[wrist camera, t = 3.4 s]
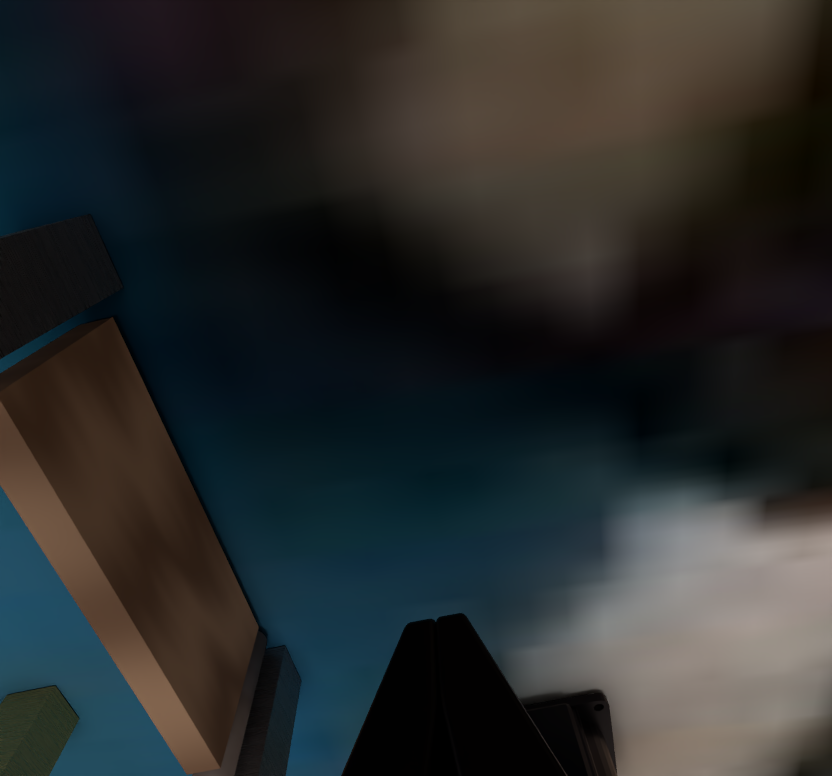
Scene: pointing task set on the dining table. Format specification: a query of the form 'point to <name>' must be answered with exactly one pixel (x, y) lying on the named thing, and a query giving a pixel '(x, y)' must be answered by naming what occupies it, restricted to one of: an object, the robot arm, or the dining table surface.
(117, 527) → the brown wooden plank
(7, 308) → the frame
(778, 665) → the dining table surface
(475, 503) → the dining table surface
